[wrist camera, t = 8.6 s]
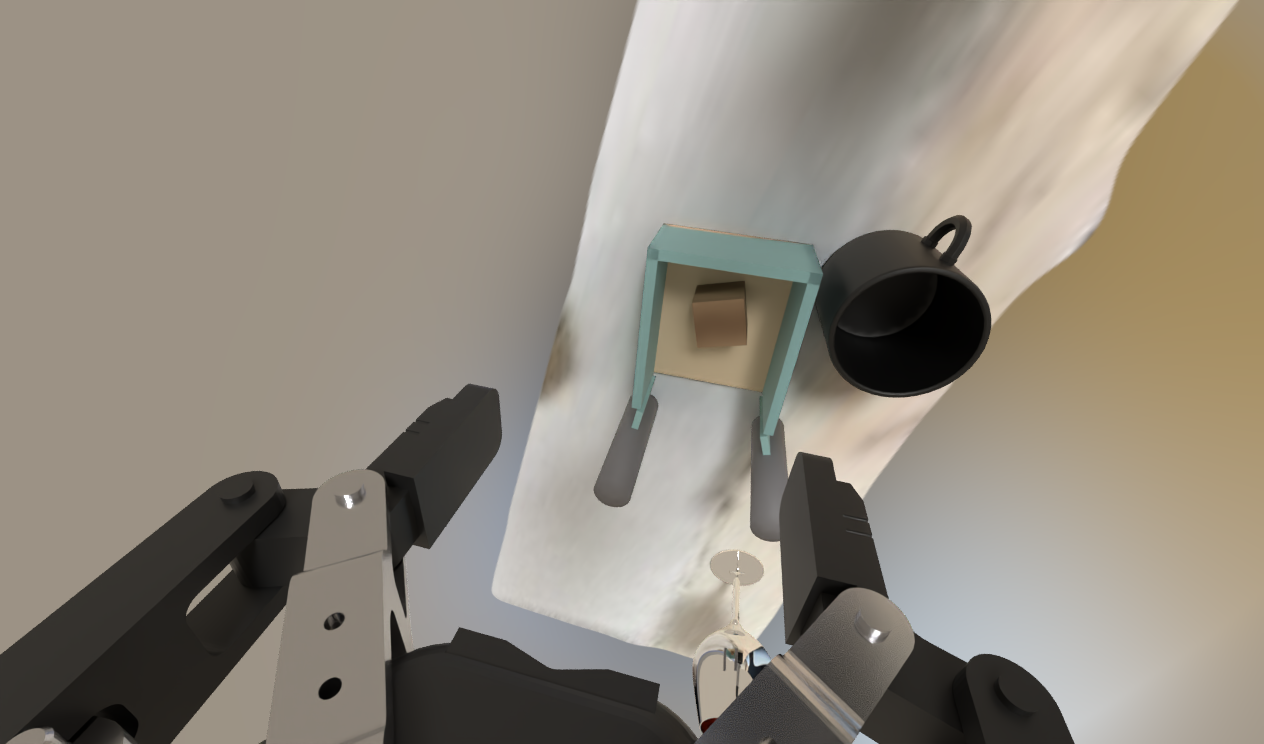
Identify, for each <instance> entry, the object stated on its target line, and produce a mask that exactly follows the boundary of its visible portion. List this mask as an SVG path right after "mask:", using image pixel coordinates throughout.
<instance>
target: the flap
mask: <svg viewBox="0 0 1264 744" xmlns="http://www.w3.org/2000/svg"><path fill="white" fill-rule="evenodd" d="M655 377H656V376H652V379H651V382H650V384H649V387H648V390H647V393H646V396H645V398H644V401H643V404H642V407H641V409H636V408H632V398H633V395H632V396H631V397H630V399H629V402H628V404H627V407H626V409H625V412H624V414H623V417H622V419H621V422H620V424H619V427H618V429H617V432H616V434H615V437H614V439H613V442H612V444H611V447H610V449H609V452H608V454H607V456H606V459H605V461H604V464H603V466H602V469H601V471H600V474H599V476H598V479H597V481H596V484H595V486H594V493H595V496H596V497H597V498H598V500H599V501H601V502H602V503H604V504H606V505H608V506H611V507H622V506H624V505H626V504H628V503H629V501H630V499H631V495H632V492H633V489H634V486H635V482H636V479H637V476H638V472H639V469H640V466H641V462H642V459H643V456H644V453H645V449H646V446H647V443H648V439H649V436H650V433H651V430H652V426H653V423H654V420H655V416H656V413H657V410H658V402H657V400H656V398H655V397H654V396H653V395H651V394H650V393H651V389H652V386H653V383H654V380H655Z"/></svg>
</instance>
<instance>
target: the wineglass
mask: <svg viewBox="0 0 1264 744" xmlns="http://www.w3.org/2000/svg"><path fill="white" fill-rule="evenodd" d="M711 569H712V572H713V573H714V575H715V576H716V577H717V578H719V579H720V580H722V581H724V582H726V583H728V584H732V585H733V601H732V619H731V622H730V623H729V624H728V625H727V626H726V627H724V628H722V629H719V630H717V631H715V632H713V633H712V634H710V635H709V636H707V637H706V638H705V639H704V640H703V641H702V642H701V643H700V645H699V646H698V648H697V650H696V652H695V655H694V658H693V684H694V692H695V699H696V707H697V714H698V721H699V727H700V731H701V733H702V734H703V733H704V732H705V731H706V730H707V729H708V728H709V727H710V726H711V725H712V724H713V723H714V721H715V720H716V719H717V718H718V717H719V716H720V715H721V714H722V713H723V712H724V711H725V710H726V709H727V707H728V706H729V705H730V704H731V703H732V702H733V701H734V700H735V699H736V698H737V697H738V696H739V694H740V693H741V692H742V691H743V690H744V689H745V688H746V687H747V686H748V685H749V684H750V683H751V681H752V680H753V679H754V678H755V677H756V676H757V675H758V674H759V673H760V672H761V671H762V670H763V669H764V667H765V666H766V665H767V664H768V663H769V662H770V661H771V658H770V656H769V655H768V653H767V651H766V650H765V648H764V647H763V646H762V645H761V644H760V643H759V642H758V641H757V640H756V639H755V638H754V637H753V636H752V635H750V634H749V633H748V632H747V631H745V630H744V629H743V628H742V626H741V625H740V623H739V597H740V586H746V585H751V584H754V583H756V582H758V581H759V580H760V579H761V578H762V576H763V574H764V568H763V565H762V563H761V562H760V560H759V559H758V558H756V557H755V556H754V555H752V554H750V553H748V552H745V551H741V550H725V551H722V552H719V553H718V554H716V555H715V556H714V557H713V558H712V560H711Z"/></svg>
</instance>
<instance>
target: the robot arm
mask: <svg viewBox="0 0 1264 744" xmlns="http://www.w3.org/2000/svg"><path fill="white" fill-rule="evenodd" d="M501 439H502V428H501V415H500V403H499V394H498V391H497V390H496V389H493V388H488V387H483V386H478V385H473V384H468V385H466V386H465V387H464V388H463V389H462V390H461V391H460V392H459V393H458V394H457V395H456V396H455V397H454V398H453V399H449V398H445V399H443V400H442V401H440V402H438V403H436V404H434V405H432V406H430V407H428V408H427V409H426V410H425V411H424V412H423V413H422V414H421V415H420V416H419V417H418V418H417V419H416V422H413V423H412V424H411V425H410V426H409V427H408V428H407V429H406V432H403V433H402V434H401V435H400V436H399V437H398V438H397V439H396V440H395V441H394V442H393V443H392V444H391V445H390V446H389V447H388V448H387V449H386V450H385V451H384V452H383V453H382V454H381V455H380V456H379V457H378V458H377V459H376V460H375V461H373V462H372V464H370V466H368V467H367V469H358V470H351V471H347V472H344V473H341V474H338V475H336V476H334V477H332V478H330V479H329V480H328V481H326V482H325V483H323V484H322V485H321V486H320V487H319V488H313V489H311V488H310V489H281V487H280V485H279V482H278V480H277V478H276V477H275V476H274V475H273V474H271V473H268V472H262V471H251V472H245V473H241V474H237V475H234V476H231V477H229V478H226V479H224V480H222V481H220V482H218V483H217V484H215V485H214V486H212V487H211V488H209V489H208V490H207V491H206V492H204V493H203V494H202V495H201V496H200V497H198V498H197V499H196V500H194V501H193V502H192V503H190V504H189V505H188V506H187V507H185V508H184V509H183V510H182V511H180V512H179V513H178V514H177V515H175V516H174V517H173V518H172V519H171V520H169V521H168V522H167V523H165V524H164V525H163V526H162V527H160V528H159V529H158V530H157V531H155V532H154V533H153V534H152V535H150V536H149V537H148V538H146V539H145V540H144V541H143V542H142V543H141V544H139V545H138V546H136V547H135V548H134V549H133V550H132V551H130V552H129V553H128V554H126V555H125V556H124V557H123V558H121V559H120V560H119V561H118V562H116V563H115V564H114V565H113V566H111V567H110V568H109V569H108V570H106V571H105V572H104V573H102V574H101V575H100V576H99V577H98V578H96V579H95V580H94V581H92V582H91V583H90V584H89V585H88V586H86V587H85V588H84V589H82V590H81V591H80V592H79V593H77V594H76V595H75V596H74V597H72V598H71V599H70V600H69V601H67V602H66V603H65V604H64V605H62V606H61V607H60V608H59V609H57V610H56V611H55V612H53V613H52V614H51V615H50V616H49V617H47V618H46V619H45V620H43V621H42V622H41V623H40V624H38V625H37V626H36V627H35V628H33V629H32V630H31V631H30V632H28V633H27V634H26V635H25V636H24V637H22V638H21V639H20V640H18V641H17V642H16V643H15V644H13V645H12V646H11V647H9V648H8V649H7V650H6V651H4V652H3V653H2V654H1V655H0V744H171V742H172V741H173V740H174V739H175V737H176V736H177V735H178V734H179V733H180V731H181V730H182V729H183V728H184V727H185V725H186V724H187V723H188V722H189V721H190V719H191V718H192V717H193V716H194V715H195V713H196V712H197V711H198V710H199V709H200V707H201V706H202V705H203V704H204V703H205V701H206V700H207V699H208V698H209V697H210V695H211V694H212V693H213V692H214V691H215V689H216V688H217V687H218V686H219V685H220V683H221V682H222V681H223V680H224V679H225V677H226V676H227V675H228V674H229V673H230V671H231V670H232V669H233V668H234V666H235V665H236V664H237V663H238V662H239V661H240V659H241V658H242V657H243V656H244V654H245V653H246V652H247V651H248V650H249V649H250V647H251V646H252V645H253V644H254V642H255V641H256V640H257V639H258V638H259V636H260V635H261V634H262V633H263V632H264V630H265V629H266V628H267V627H268V626H269V624H270V623H271V622H272V621H273V620H274V618H275V617H276V616H277V615H278V614H279V612H280V611H281V610H282V609H283V607H284V606H285V605H286V610H285V618H284V624H283V631H282V638H281V645H280V651H279V658H278V665H277V671H276V678H275V685H274V691H273V698H272V705H271V712H270V718H269V725H268V732H267V738H266V740H264V741H262V742H261V743H259V744H852V743H853V741H854V740H855V738H856V737H857V735H858V733H859V732H861V733H863V734H865V735H866V736H868V737H869V738H871V739H872V740H874V741H875V742H877V743H879V744H1074V741H1073V739H1072V737H1071V734H1070V732H1069V730H1068V727H1067V725H1066V723H1065V721H1064V718H1063V716H1062V713H1061V711H1060V709H1059V707H1058V705H1057V703H1056V702H1055V700H1054V699H1053V697H1052V696H1051V695H1050V693H1049V692H1048V691H1047V690H1046V688H1045V687H1044V686H1043V685H1042V684H1041V683H1040V682H1039V681H1038V680H1037V679H1036V678H1035V677H1034V676H1032V675H1031V674H1030V673H1029V672H1027V671H1026V670H1025V669H1023V668H1022V667H1020V666H1018V665H1017V664H1016V663H1014V662H1012V661H1010V660H1008V659H1005V658H1003V657H1000V656H996V655H992V654H980V655H977V656H974V657H973V658H972V659H971V660H970V661H969V662H968V663H967V662H965V661H963V660H961V659H959V658H957V657H955V656H954V655H952V654H950V653H948V652H946V651H944V650H942V649H941V648H939V647H937V646H935V645H933V644H931V643H929V642H928V641H926V640H924V639H923V638H921V637H920V636H918V635H917V634H916V633H914V632H913V629H912V627H911V625H910V623H909V621H908V619H907V618H906V616H905V615H904V614H903V612H902V611H901V610H900V609H899V608H898V607H897V606H896V605H895V604H894V603H893V602H892V601H890V600H889V598H888V595H887V591H886V588H885V583H884V580H883V576H882V572H881V568H880V564H879V560H878V556H877V553H876V549H875V545H874V540H873V539H872V533H871V529H870V525H869V523H868V517H867V513H866V510H865V506H864V502H863V500H862V499H861V497H860V496H859V495H858V493H857V492H856V491H855V489H854V488H853V486H852V485H851V484H850V483H845V482H840V481H836V477H835V472H834V467H833V462H832V460H831V458H827V457H822V456H817V455H812V454H808V453H803V452H799V453H798V454H797V456H796V459H795V461H794V464H793V467H792V470H791V473H790V476H789V478H788V481H787V484H786V487H785V490H784V492H783V495H782V499H781V504H780V511H779V528H780V547H781V566H782V585H783V604H784V623H785V642H786V644H789V645H793V646H792V647H791V648H790V649H789V650H788V651H787V652H786V653H785V654H784V655H783V656H782V655H781V654H779V655H777V656H776V657H774V658H773V659H772V660H771V661H770V662H769V663H768V664H767V665H766V666H765V667H764V669H763V670H762V671H761V672H760V673H759V674H758V675H757V676H756V677H755V678H754V679H753V680H752V681H751V683H750V684H749V685H748V686H747V687H746V688H745V689H744V690H743V691H742V692H741V693H740V694H739V696H738V697H737V698H736V699H735V700H734V701H733V702H732V703H731V704H730V705H729V706H728V707H727V709H726V710H725V711H724V712H723V713H722V714H721V715H720V716H719V717H718V718H717V719H716V720H715V721H714V723H713V724H712V725H711V726H710V727H709V728H708V729H707V730H706V731H705V732H704V733H703V734H702V736H701V737H700V738H699V739H698V738H697V737H696V736H695V734H694V733H693V732H692V730H691V729H690V728H689V727H688V726H687V725H686V723H685V722H684V721H683V720H682V719H681V718H680V717H679V716H678V715H676V714H675V713H674V712H673V711H671V710H670V709H669V708H668V707H666V706H665V705H663V704H662V703H660V702H659V701H657V699H658V692H659V686H660V684H657V683H654V682H651V681H647V680H644V679H640V678H637V677H633V676H629V675H626V674H622V673H619V672H615V671H612V670H608V669H605V670H602V669H593V670H590V669H583V670H556V669H551V668H548V667H546V666H545V665H543V664H542V663H540V662H539V661H537V660H536V659H534V658H532V657H531V656H529V655H528V654H526V653H525V652H523V651H522V650H520V649H518V648H517V647H515V646H514V645H512V644H511V643H509V642H508V641H506V640H503V639H499V638H495V637H492V636H488V635H485V634H481V633H477V632H474V631H471V630H467V629H464V628H459V629H458V631H457V632H456V634H455V636H454V638H453V640H452V642H451V643H443V644H436V645H430V646H426V647H423V648H419V649H416V650H414V645H413V639H412V633H411V624H410V609H409V596H408V583H407V582H408V581H407V569H406V559H405V554H406V553H407V552H408V550H409V549H410V548H411V546H412V545H416V546H420V547H423V548H427V549H430V548H431V546H432V545H433V543H434V542H435V541H436V539H437V538H438V537H439V535H440V534H441V532H442V531H443V529H444V528H445V527H446V525H447V524H448V522H449V521H450V519H451V518H452V517H453V515H454V514H455V512H456V511H457V510H458V508H459V507H460V505H461V504H462V502H463V501H464V500H465V498H466V497H467V495H468V494H469V492H470V491H471V489H472V488H473V487H474V485H475V484H476V483H477V481H478V480H479V478H480V477H481V475H482V474H483V473H484V471H485V469H486V468H487V467H488V465H489V464H490V463H491V461H492V460H493V458H494V457H495V455H496V454H497V452H498V450H499V447H500V443H501ZM228 564H230V565H231V567H232V569H233V570H232V571H231V572H230V573H229V574H228V575H227V576H226V577H225V578H224V579H223V580H222V581H221V582H220V583H219V584H218V585H217V586H216V587H215V588H214V589H213V590H212V591H211V592H210V593H209V594H208V595H207V596H206V597H205V598H204V599H203V600H202V601H201V602H200V603H199V604H198V605H197V606H196V607H195V608H194V609H193V610H192V611H191V612H190V613H189V614H188V615H187V616H186V612H187V610H188V607H189V605H190V603H191V602H192V600H193V599H194V598H195V597H196V596H197V594H198V593H200V591H201V590H202V589H203V588H205V587H206V586H207V585H208V584H209V583H210V582H211V581H212V580H213V579H214V578H215V577H216V576H217V575H218V574H219V573H220V572H221V571H222V570H223V569H224V568H225V567H226V566H227V565H228Z"/></svg>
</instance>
